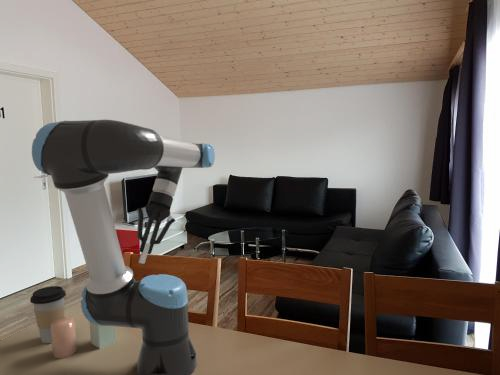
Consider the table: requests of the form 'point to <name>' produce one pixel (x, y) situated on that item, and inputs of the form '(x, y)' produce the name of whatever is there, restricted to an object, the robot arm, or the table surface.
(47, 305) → the coffee cup
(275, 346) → the table surface
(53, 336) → the peach rounded cylinder
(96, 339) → the sage tin
